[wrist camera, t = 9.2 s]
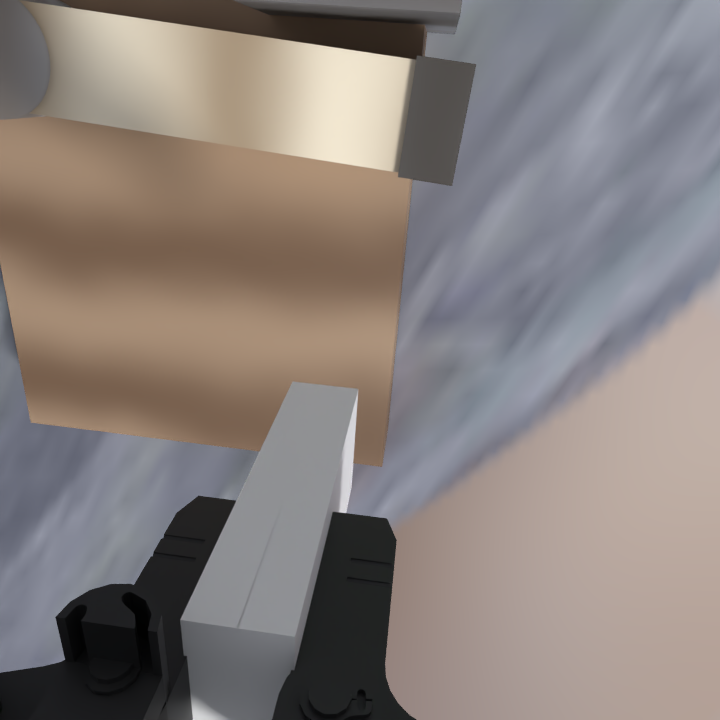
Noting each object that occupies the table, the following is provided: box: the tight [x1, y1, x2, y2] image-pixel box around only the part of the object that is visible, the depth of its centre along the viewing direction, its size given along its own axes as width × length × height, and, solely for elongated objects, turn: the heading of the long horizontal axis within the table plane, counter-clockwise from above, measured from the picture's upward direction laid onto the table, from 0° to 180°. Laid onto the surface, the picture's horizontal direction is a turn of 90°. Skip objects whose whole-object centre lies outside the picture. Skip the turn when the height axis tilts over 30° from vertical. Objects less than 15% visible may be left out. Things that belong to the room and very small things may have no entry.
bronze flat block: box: [0, 0, 462, 467], centre depth 22 cm, size 19×17×7 cm
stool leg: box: [0, 0, 476, 186], centre depth 19 cm, size 16×4×3 cm, turn 82°
